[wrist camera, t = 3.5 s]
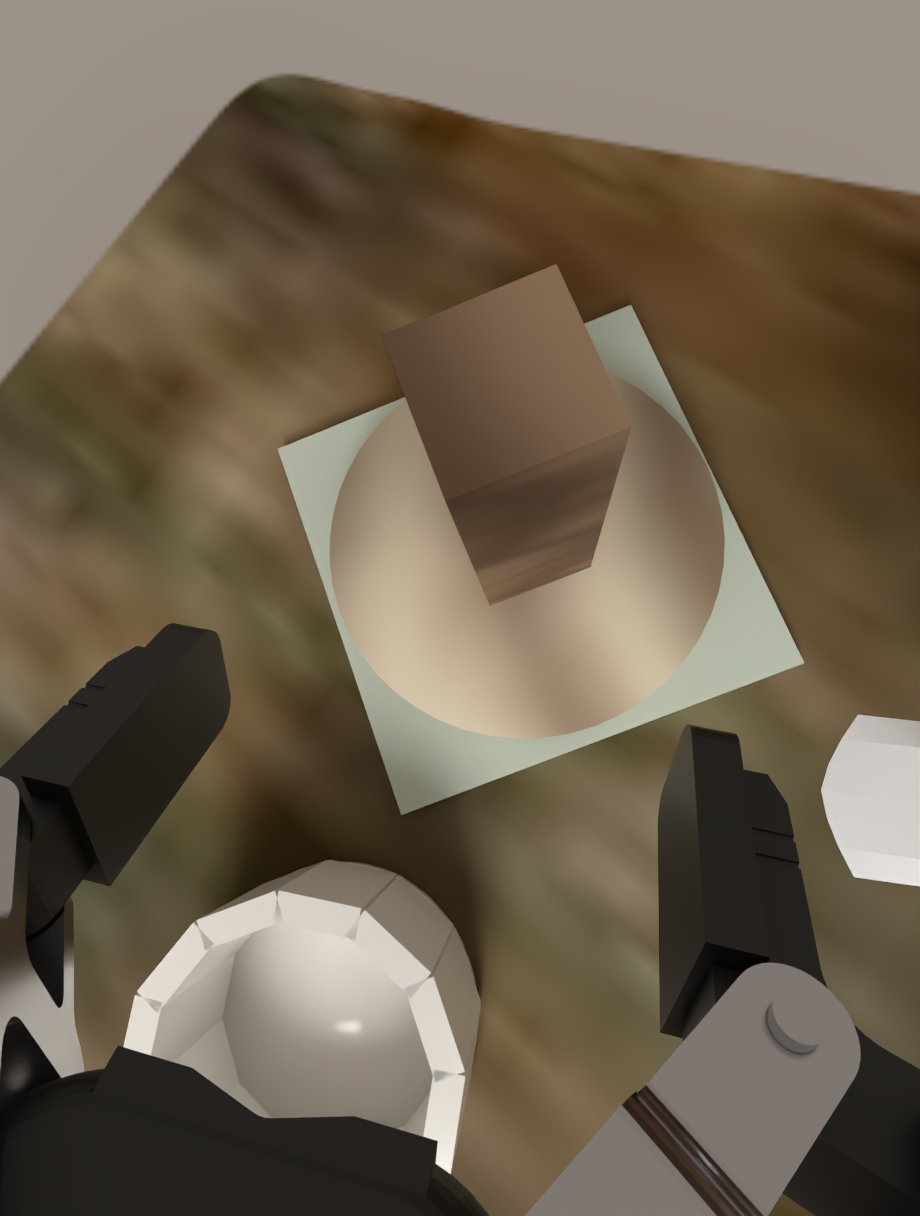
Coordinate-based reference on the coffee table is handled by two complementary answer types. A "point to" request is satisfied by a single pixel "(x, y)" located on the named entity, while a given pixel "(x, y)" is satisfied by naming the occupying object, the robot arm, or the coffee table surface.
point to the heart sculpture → (877, 799)
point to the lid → (523, 524)
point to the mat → (461, 760)
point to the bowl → (323, 1002)
